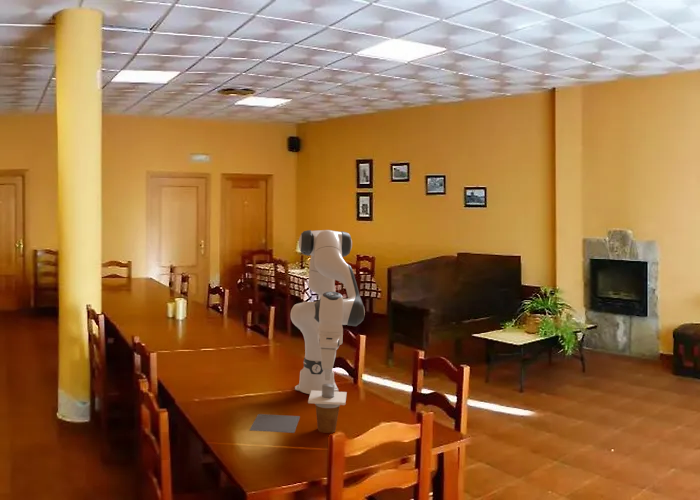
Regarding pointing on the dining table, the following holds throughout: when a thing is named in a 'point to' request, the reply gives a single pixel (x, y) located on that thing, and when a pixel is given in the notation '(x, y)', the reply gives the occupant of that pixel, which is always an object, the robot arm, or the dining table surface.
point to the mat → (275, 423)
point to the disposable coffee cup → (327, 417)
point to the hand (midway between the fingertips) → (328, 376)
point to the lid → (327, 396)
